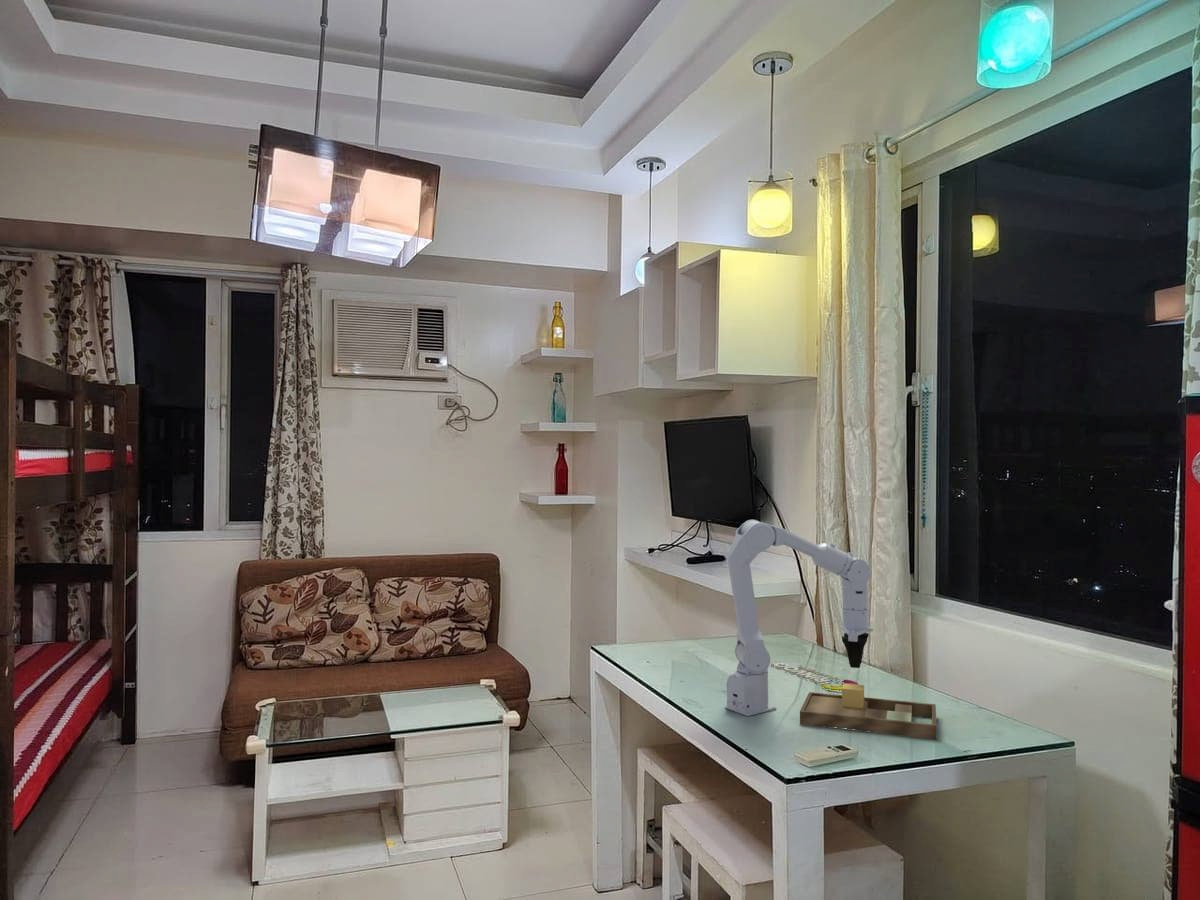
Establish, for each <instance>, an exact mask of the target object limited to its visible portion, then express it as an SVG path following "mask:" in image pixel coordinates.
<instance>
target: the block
mask: <svg viewBox="0 0 1200 900" xmlns="http://www.w3.org/2000/svg"><path fill="white" fill-rule="evenodd" d="M842 686H843V687H842V693H841V695H842V706H845V707H854V708H863V706H864V697H865V685H864V684H859V685H856V684H845V683H844V684H842Z"/></svg>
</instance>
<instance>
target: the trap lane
mask: <svg viewBox="0 0 1200 900" xmlns="http://www.w3.org/2000/svg"><path fill="white" fill-rule="evenodd" d="M912 715H914V716H912ZM920 716H922V717H923V718H930V717H931V723H925V722H918V721H917V722H915V721H913V717H920ZM801 724H802V725H801ZM799 725H801V726H803V725H804V726H810V725H815V726H814V727H819V726H825V727H824V728H828V727H837V728H847V729H855V730H862V731H861V732H864V731H870V732H869V733H873V732H878V733H877V734H882V733H885V734H884V735H891V734H892V735H894V736H900V735H902V737H909V736H911V738H918V737H919V739H920V738H921V739H927V738H930V739H929V740H936V739H937V707H936V703H926V702H916V701H906V700H896V699H885V698H875V697H865V696H864V706H863V708H854V707H845V706H842V694H835V693H823V692H822V693H821V692H812V691H808V694H807V696H806V698H805V700H804V702H803V704H802V706H801V708H800V710H799ZM837 728H836V729H837ZM855 730H854V731H855ZM937 740H938V739H937Z"/></svg>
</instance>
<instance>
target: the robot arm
mask: <svg viewBox="0 0 1200 900" xmlns="http://www.w3.org/2000/svg"><path fill="white" fill-rule="evenodd" d="M771 546H774V547H779V546H786V547H788V548H791V549H793V550H795V551H796V552H797V551H798V553H799V552H800V553H802V554H803V555H806V556H809V557H810V558H811V559H812V563H813V565H815V566H817V567H818V568H821V569H823V570H825V571H828V572H829V573H832V574H834V575H835V576H839V577H840V578H842V587H841V588H842V590H841V591H842V592H841V594H842V625H841V630H842V631H843V632H844V634H843V636H842V637H841V641H842V643H843V645H844V647H845V650H846V652H847V660H848V662H849V663H848V664H849V667H850V668H853V669H860V668H861V665H862V661H863V655H864V649H865V646H866V643H867V641H868V637H869V635H870V634H869V633H868V632H873V631H874V627H872V626H869V622H868V621H869V619H868V618H869V617H868V616H869V614H868V613H869V611H868V609H869V608H868V607H869V602H868V592H869V591H868V582H869V581H870V579H871V577H872V575H873V572H872V570H871V569H870V565H869V564H868V562H866V561H865V560H863V559H861V558H858V557H855V556H854V553H852V552H849V551H847V552H845V551H843V550H840V549H838V548H837V547H836V544H834V543H832V542H828V543H827V542H822V543H819V544H815V543H813V542H811V541H809V540H807V539H806V538H804V537H802V536H799V535H798V534H796V533H794V532H791V531H789V530H788V529H786V528H783V527H779V526H776V525H772V524H769V523H766V522H761V521H759V520H757V519H748V520H746V521H745V522H743V523H742V524H740V526H739V527H738V528H737V529H736V530H735V535H734V539H733V542H732V544H731V546H730V548H729V550H728V553H727V565H728V570H729V571H728V572H729V577H730V584H731V592H732V598H733V604H734V611H735V618H736V625H737V632H736V644H735V645H736V646H735V649H734V653H735V654H734V655H735V657H736V659H737V660H738V664H737V666H736V671H734V673H733V674H730V675H729V676H728V677H727V680H726V704H725V705H724V708H725V709H728V710H730V711H731V712H735V713H739V714H741V715H743V716H745V717H746V716H747V717H750V716H754V715H757V714H760V713H761V714H762V713H764V712H769V711H773V710H776V709H777V706H776V705H772V704H769V667H770V665H771V656H770V653H769V652H768V650H767V649H766V647H765V642H764V638H763V636H762V633H761V630H760V623H759V617H758V611H757V604H756V597H755V591H754V584H753V577H752V571H751V563H752V562H753V560H755V559H756V557H757V556H758V555H759V554H761V553H763V552H764V551H766V550H768V549H769V548H771Z"/></svg>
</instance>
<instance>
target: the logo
mask: <svg viewBox="0 0 1200 900" xmlns="http://www.w3.org/2000/svg"><path fill="white" fill-rule="evenodd" d="M770 667H772V668H775V669H776V668H777V669H776V670H781V669H784V671H785V672H784V673H786V672H789V673H788V674H790V675H792V674H796V675H797V676H800V677H805V678H804V680H805V679H809V680H810V681H812V680H814V681H812V682H813V683H814V682H816V683H819V684H820V683H825V682H830V683H831V681H830V680H829V679H832V680H833V679H835V681H837V680H839V681H840V677H838V676H834V675H831V674H827V673H825V672H822V671H819V670H816V669H813V668H810V667H808V666H806V665H803V664H798V665H797V667H796V666H790V665H789V664H787V663H785V662H781V663H780V662H778V663H775V664H774V663H770ZM799 669H803V670H804V671H803V670H799ZM805 670H806V671H807V672H811V673H807V672H806V671H805ZM812 673H814V674H817V675H814V674H812ZM818 675H820V676H824V677H828V678H829V679H825V678H823V677H820V676H818ZM797 676H796V677H797ZM800 677H799V678H800ZM809 680H808V681H809ZM810 681H809V682H810ZM835 681H834V682H835ZM842 682H844V683H845V684H856V685H860V684H859V683H858V682H856V681H853V680H849V679H843V680H842V681H841V683H842ZM816 683H815V684H816ZM821 686H822V687H824V688H825V689H831V690H839V691H840V690H841V691H842V687H843V685H830V686H829V685H827V684H821V685H820V687H821Z"/></svg>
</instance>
